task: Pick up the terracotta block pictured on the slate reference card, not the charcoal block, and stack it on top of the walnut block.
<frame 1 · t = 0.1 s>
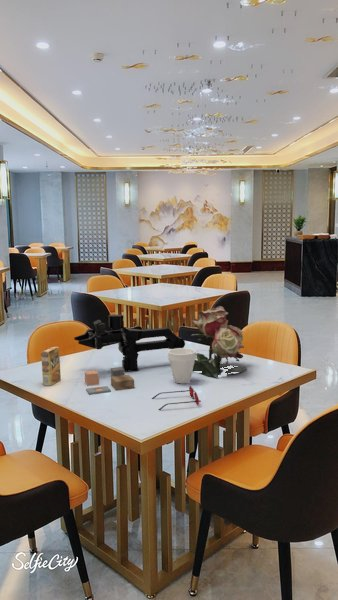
hand: (76, 340, 234), 17 cm above the table, tool horizontal, fingers open, 9 cm apart
charcoal block: (117, 379, 230), on the table
terracotta block: (91, 383, 224), on the table
glasses: (175, 404, 198), on the table
walnut block: (122, 387, 219), on the table
rose bouquet: (219, 369, 244), on the table
candy box: (51, 383, 226), on the table
reference card: (98, 391, 213), on the table
cup: (182, 382, 225), on the table
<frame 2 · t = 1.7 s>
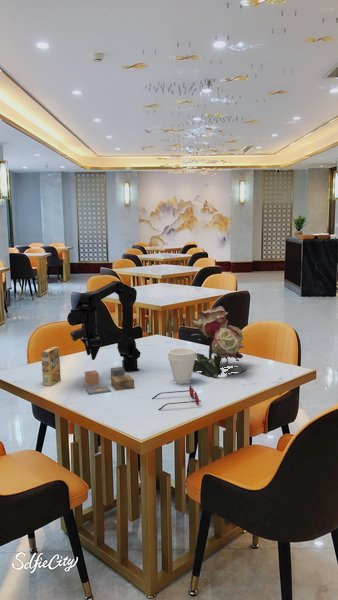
hand: (90, 357, 223), 12 cm above the table, tool pointing down, fingers open, 9 cm apart
nothing on the table moved.
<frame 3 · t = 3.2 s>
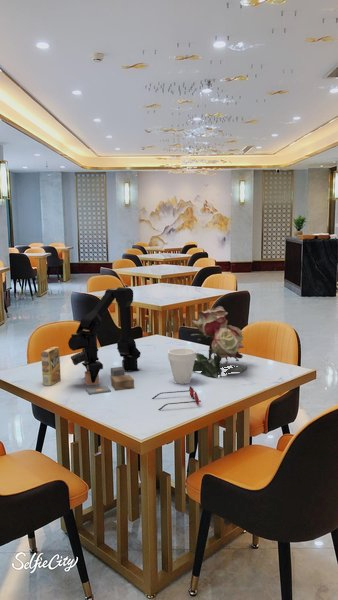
hand: (91, 380, 224), 1 cm above the table, tool pointing down, fingers closed on terracotta block, 5 cm apart
terracotta block: (91, 383, 224), on the table, touching gripper
everything else where it was.
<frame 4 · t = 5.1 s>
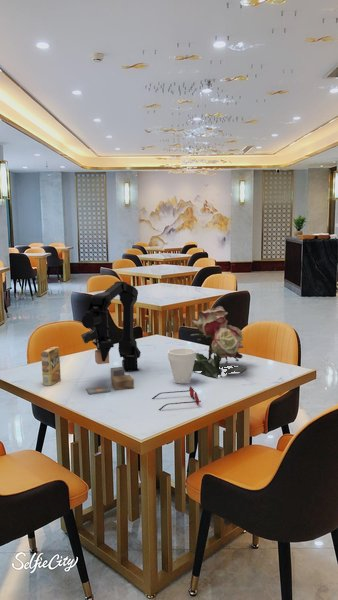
hand: (102, 359, 221), 11 cm above the table, tool pointing down, fingers closed on terracotta block, 5 cm apart
terracotta block: (102, 362, 221), point 10 cm above the table, touching gripper
everything else where it was.
when the fingers open (6 cm above the table, at t = 7.1 s): terracotta block drops 2 cm, resting on walnut block.
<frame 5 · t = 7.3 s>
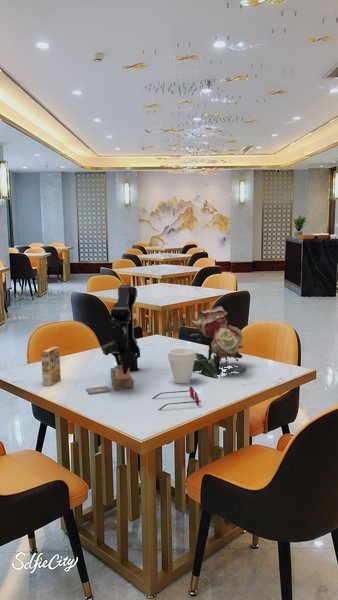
hand: (122, 371, 218), 6 cm above the table, tool pointing down, fingers open, 7 cm apart
terracotta block: (122, 378, 219), point 4 cm above the table, touching walnut block
walnut block: (122, 387, 219), on the table, touching terracotta block
everything else where it was.
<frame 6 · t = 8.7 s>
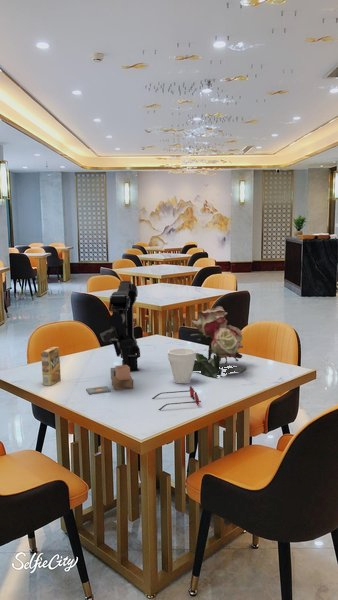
hand: (121, 358, 218), 12 cm above the table, tool pointing down, fingers open, 9 cm apart
nothing on the table moved.
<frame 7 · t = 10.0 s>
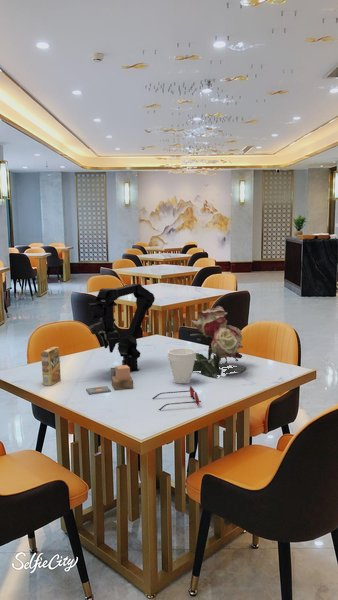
hand: (108, 350, 234), 12 cm above the table, tool pointing down, fingers open, 9 cm apart
nothing on the table moved.
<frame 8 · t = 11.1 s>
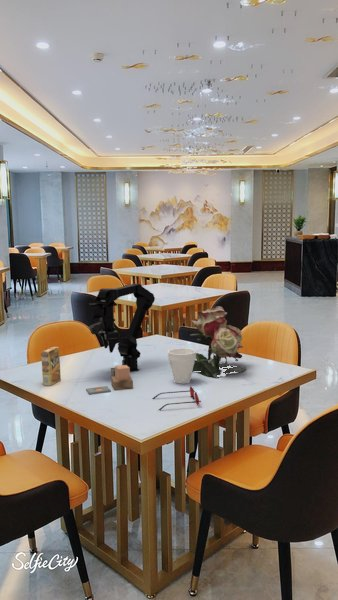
hand: (108, 350, 234), 12 cm above the table, tool pointing down, fingers open, 9 cm apart
nothing on the table moved.
at the end: terracotta block 0.3 cm off-centre on the walnut block, point 4.0 cm above the walnut block's base; terracotta block tilted 0°; charcoal block moved 0.1 cm from its start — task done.
